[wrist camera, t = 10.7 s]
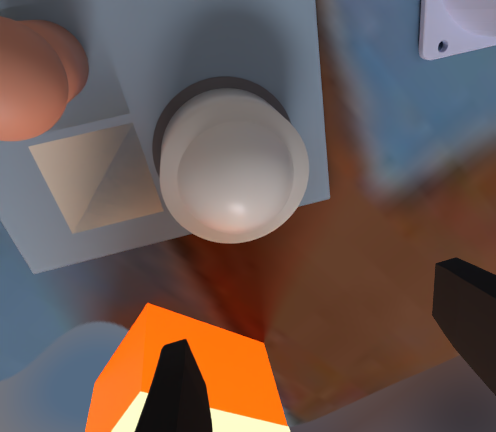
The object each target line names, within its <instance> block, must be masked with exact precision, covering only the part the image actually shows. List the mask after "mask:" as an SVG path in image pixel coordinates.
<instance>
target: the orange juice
mask: <svg viewBox="0 0 496 432" xmlns="http://www.w3.org/2000/svg"><path fill="white" fill-rule="evenodd" d="M182 339H187V342H188V344H189V346H190V349H191V351H192V353H193V355H194V358H195V360H196V362H197V365H198V367H199V369H200V372H201V374H202V376H203V379H204V381H205V383H206V387H207V393H208V399H209V405H210V412H211V419H212V428H213V432H290V429H289V427H288V426H287V422H286V419H285V415H284V412H283V408H282V405H281V401H280V398H279V394H278V391H277V388H276V384H275V381H274V377H273V374H272V370H271V367H270V363H269V360H268V356H267V353H266V349H265V346H264V343H262V342H259V341H256V340H254V339H251V338H248V337H245V336H242V335H239V334H236V333H233V332H230V331H227V330H225V329H222V328H219V327H216V326H213V325H210V324H207V323H204V322H201V321H198V320H196V319H193V318H190V317H187V316H184V315H181V314H178V313H175V312H172V311H169V310H167V309H164V308H161V307H158V306H155V305H152V304H149V303H147V304H146V306H145V308H144V309H143V311H142V312H141V314H140V315H139V317H138V318H137V320H136V321H135V323H134V324H133V326H132V327H131V329H130V330H129V332H128V333H127V335H126V336H125V338H124V339H123V341H122V342H121V344H120V345H119V347H118V349H117V350H116V351H115V353H114V355H113V356H112V358H111V359H110V361H109V362H108V364H107V365H106V367H105V368H104V370H103V371H102V373H101V374H100V376H99V377H98V379H97V380H96V382H95V385H94V390H93V395H92V400H91V405H90V410H89V415H88V420H87V425H86V430H85V432H134V431H135V429H136V426H137V423H138V420H139V418H140V415H141V412H142V409H143V407H144V404H145V401H146V398H147V395H148V392H149V389H150V386H151V383H152V380H153V377H154V373H155V370H156V367H157V363H158V360H159V356H160V352H161V349H162V347H163V346H164V345H166V344H169V343H172V342H176V341H179V340H182Z"/></svg>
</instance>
